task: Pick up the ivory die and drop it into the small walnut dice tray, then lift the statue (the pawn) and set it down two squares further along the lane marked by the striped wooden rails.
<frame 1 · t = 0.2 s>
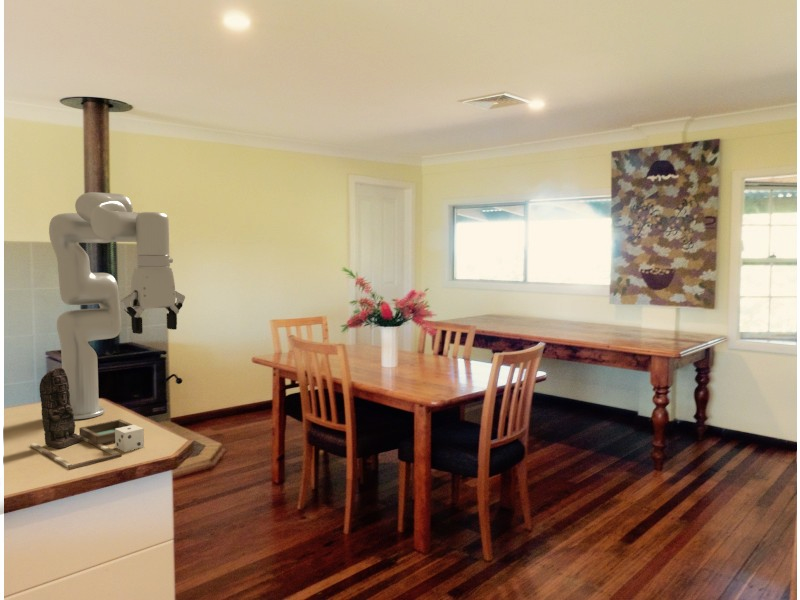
hand: (155, 331, 155), 30 cm above the countertop, fingers open, 9 cm apart
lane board: (73, 450, 156), on the countertop
statue: (61, 444, 161), on the countertop
dice tray: (109, 436, 167), on the countertop
die: (129, 447, 159), on the countertop
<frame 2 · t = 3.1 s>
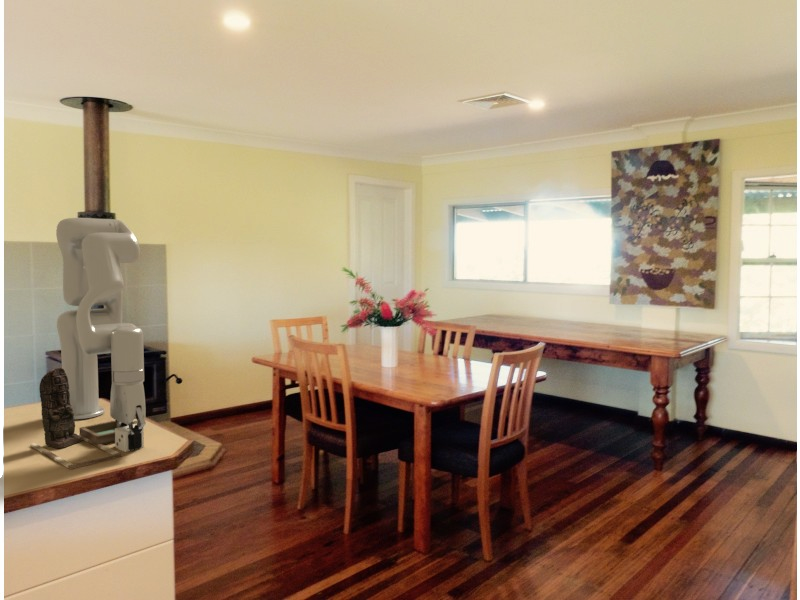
hand: (129, 445, 159), 0 cm above the countertop, fingers closed on die, 5 cm apart
die: (129, 447, 159), on the countertop, touching gripper
everything else where it was.
when the fingers open (12 cm above the countertop, at t = 5.4 s): die drops 11 cm, resting on dice tray.
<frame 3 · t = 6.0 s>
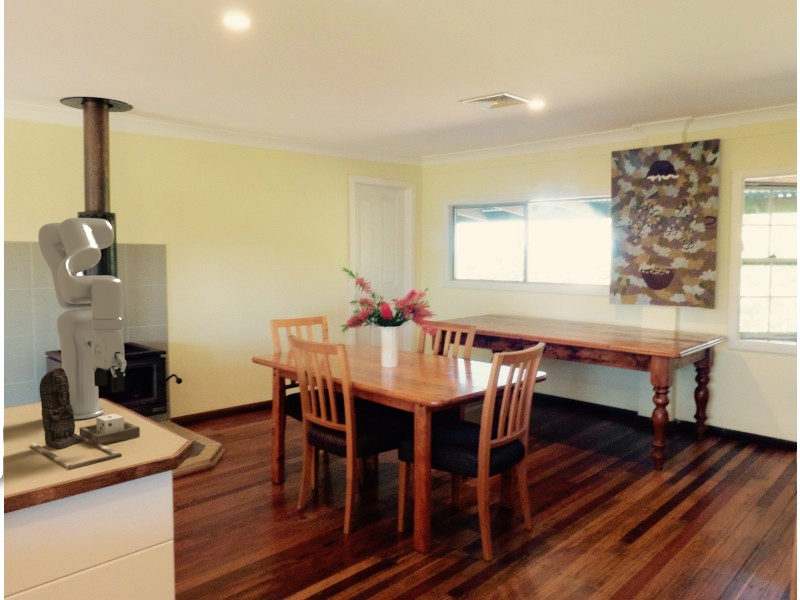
hand: (109, 388, 165), 13 cm above the countertop, fingers open, 9 cm apart
die: (110, 435, 166), resting on dice tray
everything else where it was.
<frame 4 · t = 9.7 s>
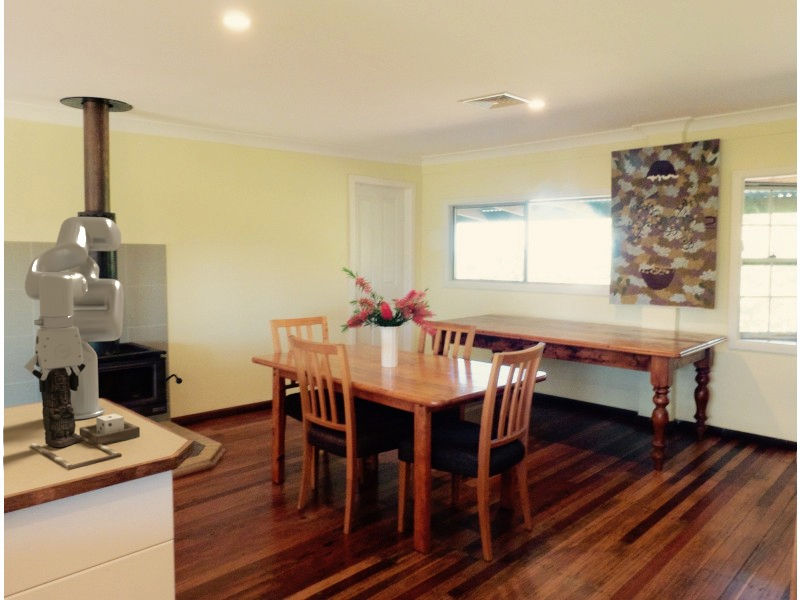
hand: (59, 391, 159), 14 cm above the countertop, fingers closed on statue, 6 cm apart
statue: (61, 444, 161), on the countertop, touching gripper
everything else where it was.
when the fingers open (15 cm above the countertop, at t = 15.7 s): statue drops 1 cm, on the countertop.
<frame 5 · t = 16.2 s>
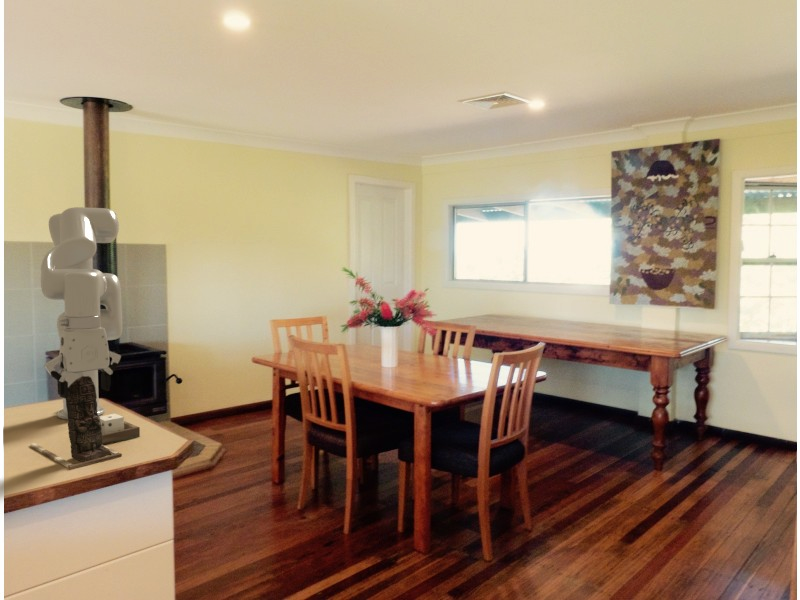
hand: (85, 393, 150), 16 cm above the countertop, fingers open, 9 cm apart
statue: (88, 457, 152), on the countertop
everything else where it was.
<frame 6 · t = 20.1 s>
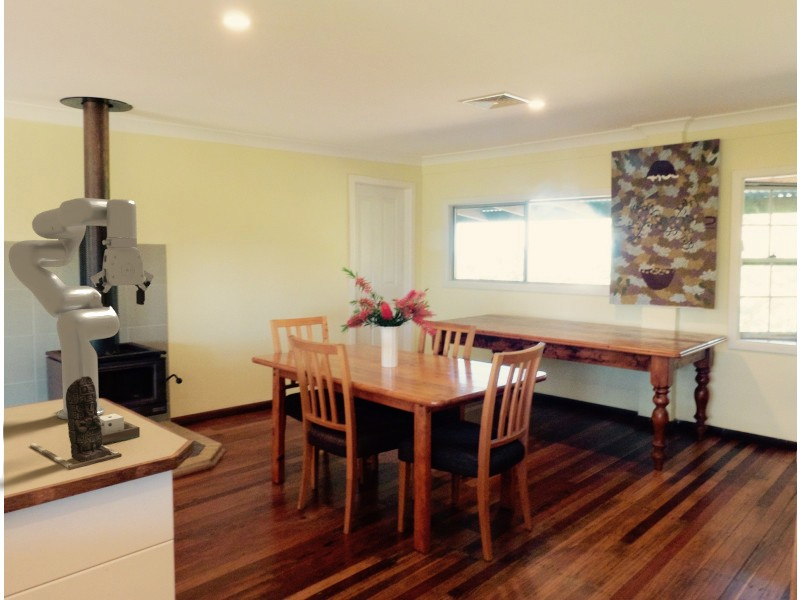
hand: (123, 305, 174), 34 cm above the countertop, fingers open, 9 cm apart
nothing on the countertop moved.
at the end: statue inside the target area (0.7 cm from its centre), on the countertop; statue tilted 0°; die inside the target area on the dice tray (0.6 cm from its centre), point 0.5 cm above the dice tray's base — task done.
